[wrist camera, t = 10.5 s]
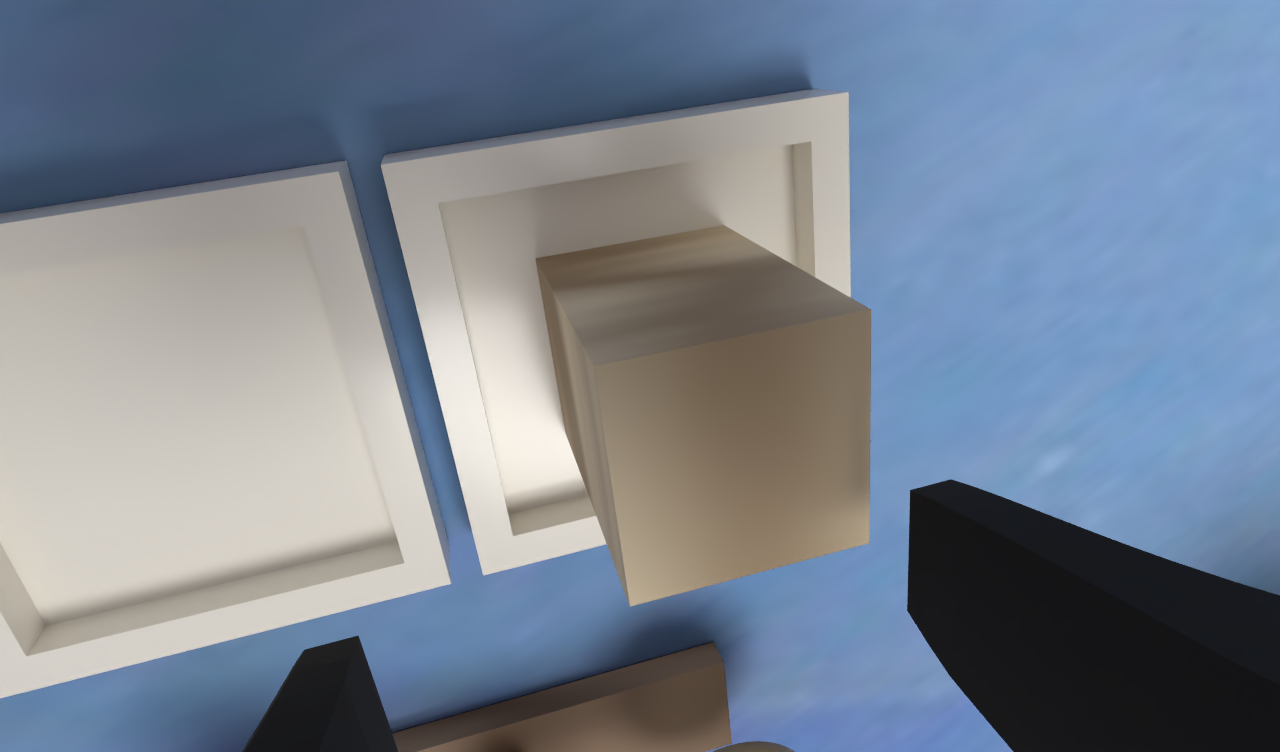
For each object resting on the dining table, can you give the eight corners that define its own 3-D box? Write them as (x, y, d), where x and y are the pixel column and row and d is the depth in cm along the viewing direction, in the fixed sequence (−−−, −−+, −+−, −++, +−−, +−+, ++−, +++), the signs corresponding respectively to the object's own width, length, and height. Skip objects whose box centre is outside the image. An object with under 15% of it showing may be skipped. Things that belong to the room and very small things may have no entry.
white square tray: (33, 646, 17) (-1, 698, 15) (-197, 243, 13) (-268, 265, 12) (448, 544, 18) (451, 583, 17) (346, 160, 15) (338, 170, 13)
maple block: (565, 434, 17) (630, 607, 12) (534, 258, 16) (593, 366, 10) (736, 396, 18) (869, 542, 13) (723, 224, 16) (870, 309, 11)
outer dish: (479, 537, 18) (483, 575, 17) (384, 154, 15) (380, 164, 13) (823, 452, 20) (852, 481, 19) (813, 88, 16) (848, 92, 15)
